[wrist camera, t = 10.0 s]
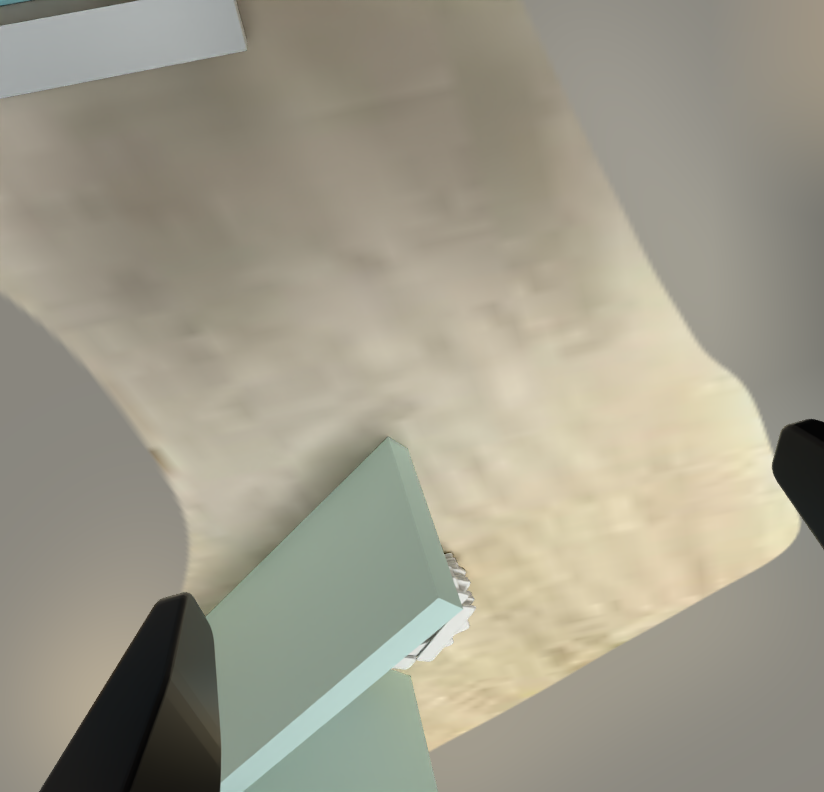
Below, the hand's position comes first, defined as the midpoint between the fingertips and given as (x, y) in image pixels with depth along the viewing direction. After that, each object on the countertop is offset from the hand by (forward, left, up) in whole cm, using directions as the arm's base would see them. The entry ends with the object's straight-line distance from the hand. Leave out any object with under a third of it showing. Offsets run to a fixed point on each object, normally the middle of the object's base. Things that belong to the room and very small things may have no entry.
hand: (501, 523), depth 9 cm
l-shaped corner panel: (-14, -8, -12) cm, 20 cm away
